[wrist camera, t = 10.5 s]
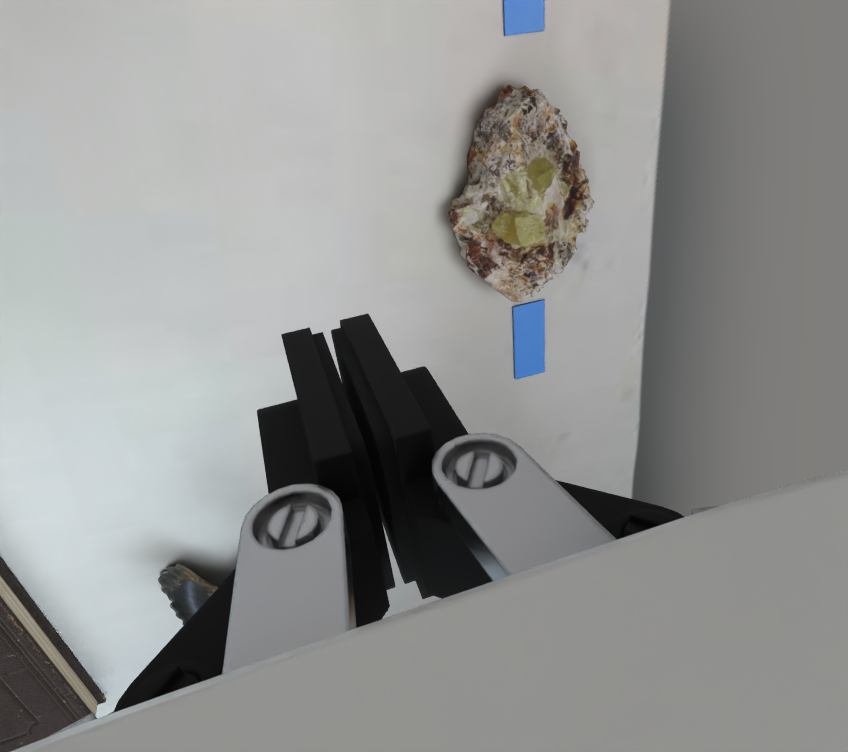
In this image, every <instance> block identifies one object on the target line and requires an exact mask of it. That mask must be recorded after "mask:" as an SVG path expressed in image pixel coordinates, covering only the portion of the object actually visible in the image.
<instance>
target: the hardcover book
mask: <svg viewBox="0 0 848 752" xmlns="http://www.w3.org/2000/svg"><path fill="white" fill-rule="evenodd" d="M103 702H106V698H105V697H104V695H103V694H102V693H101V691H100V690H99V689H98V687H97V686H96V685H95V683H94V682H93V680H92V679H91V678H90V676H89V675H88V674H87V672H86V671H85V670H84V668H83V667H82V666H81V664H80V663H79V662H78V660H77V659H76V658H75V656H74V655H73V654H72V652H71V651H70V650H69V648H68V647H67V646H66V644H65V643H64V642H63V640H62V639H61V638H60V636H59V635H58V634H57V632H56V631H55V630H54V628H53V627H52V626H51V624H50V623H49V622H48V620H47V619H46V618H45V616H44V615H43V614H42V612H41V611H40V610H39V608H38V607H37V606H36V604H35V603H34V602H33V600H32V599H31V598H30V596H29V595H28V594H27V592H26V591H25V590H24V588H23V587H22V586H21V584H20V583H19V582H18V580H17V579H16V578H15V576H14V575H13V574H12V572H11V571H10V570H9V568H8V567H7V566H6V564H5V563H4V562H3V560H2V559H1V558H0V752H11V751H13V750H16V749H19V748H21V747H24V746H26V745H29V744H31V743H34V742H37V741H39V740H42V739H44V738H47V737H49V736H51V735H52V734H54V733H56V732H58V731H60V730H62V729H63V728H65V727H67V726H69V725H71V724H73V723H75V722H76V721H78V720H80V719H82V718H84V717H86V716H87V715H89V714H91V713H94V715H95V714H96V709H97V705H98V704H101V703H103Z"/></svg>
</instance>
